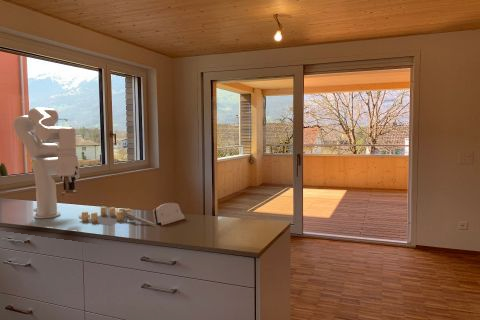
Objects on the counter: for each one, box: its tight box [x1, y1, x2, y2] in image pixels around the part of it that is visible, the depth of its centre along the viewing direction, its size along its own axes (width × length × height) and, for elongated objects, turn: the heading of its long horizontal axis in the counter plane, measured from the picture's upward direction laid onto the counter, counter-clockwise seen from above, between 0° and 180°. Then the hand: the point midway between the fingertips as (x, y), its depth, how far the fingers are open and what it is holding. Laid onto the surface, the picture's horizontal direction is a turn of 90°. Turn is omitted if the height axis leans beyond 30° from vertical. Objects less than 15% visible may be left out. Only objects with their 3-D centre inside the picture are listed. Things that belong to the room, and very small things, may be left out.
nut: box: [78, 213, 91, 219], centre depth 189 cm, size 5×6×2 cm
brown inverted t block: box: [61, 176, 78, 197], centre depth 178 cm, size 3×7×9 cm, turn 161°
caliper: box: [122, 210, 157, 227], centre depth 176 cm, size 20×1×6 cm, turn 67°
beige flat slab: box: [152, 202, 185, 226], centre depth 182 cm, size 17×5×10 cm, turn 146°
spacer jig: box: [79, 206, 132, 226], centre depth 183 cm, size 20×18×5 cm
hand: (69, 189), depth 178 cm, fingers closed on brown inverted t block, 2 cm apart
